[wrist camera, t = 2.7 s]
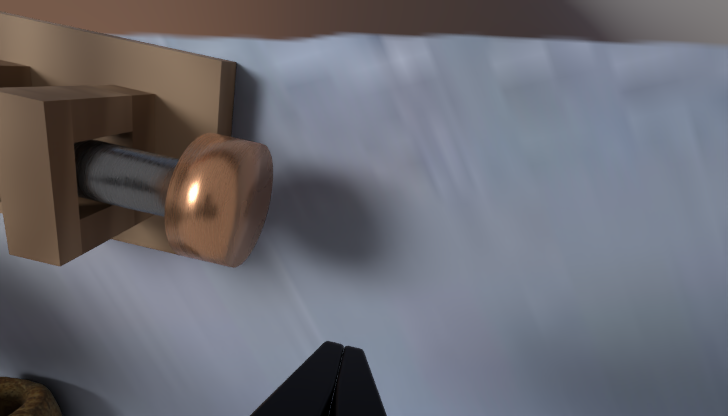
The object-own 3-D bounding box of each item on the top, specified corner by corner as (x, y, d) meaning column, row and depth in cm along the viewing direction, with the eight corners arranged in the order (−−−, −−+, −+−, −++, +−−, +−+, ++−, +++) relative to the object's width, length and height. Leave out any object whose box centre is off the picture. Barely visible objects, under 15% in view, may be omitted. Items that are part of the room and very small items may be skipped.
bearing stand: (-11, 194, 21) (-197, 247, 15) (-44, 1, 18) (-304, -42, 11) (222, 249, 21) (138, 328, 14) (236, 62, 17) (133, 53, 11)
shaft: (23, 180, 18) (-107, 215, 14) (10, 75, 17) (-145, 74, 12) (266, 236, 18) (217, 292, 13) (278, 134, 16) (226, 158, 12)
